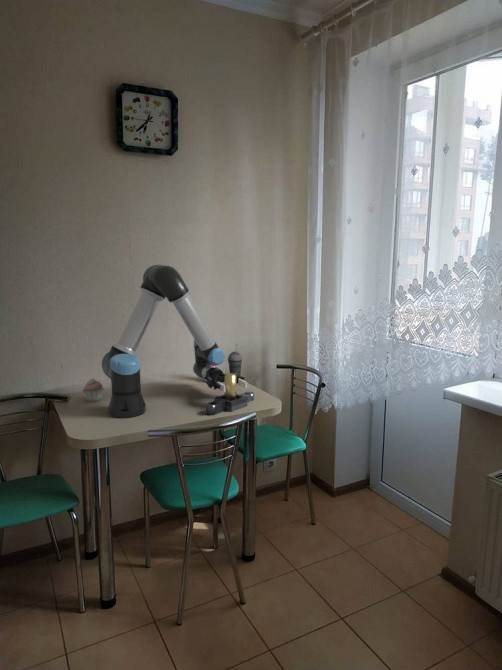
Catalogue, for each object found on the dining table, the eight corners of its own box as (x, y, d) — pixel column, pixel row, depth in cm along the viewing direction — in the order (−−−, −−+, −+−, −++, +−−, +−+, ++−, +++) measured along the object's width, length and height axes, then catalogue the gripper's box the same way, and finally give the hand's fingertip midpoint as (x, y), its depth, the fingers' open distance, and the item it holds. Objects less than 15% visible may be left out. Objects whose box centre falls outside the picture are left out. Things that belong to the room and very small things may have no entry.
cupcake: (108, 397, 222) (107, 375, 220) (99, 403, 213) (97, 381, 211) (89, 396, 223) (87, 375, 222) (79, 402, 214) (77, 380, 212)
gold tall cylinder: (231, 408, 206) (230, 376, 203) (222, 406, 209) (222, 374, 206) (239, 406, 209) (238, 374, 207) (230, 403, 213) (230, 372, 210)
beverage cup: (233, 379, 251) (232, 341, 247) (245, 381, 247) (244, 342, 244) (225, 382, 245) (224, 343, 241) (237, 384, 241) (237, 345, 237)
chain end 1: (216, 417, 195) (215, 408, 194) (198, 412, 202) (198, 403, 201) (247, 405, 210) (247, 396, 209) (230, 401, 216) (230, 392, 215)
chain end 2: (231, 411, 202) (231, 404, 202) (214, 406, 208) (214, 399, 208) (261, 400, 216) (261, 394, 216) (244, 396, 223) (244, 389, 222)
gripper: (234, 379, 229) (258, 391, 210) (190, 386, 218) (211, 399, 199) (234, 363, 227) (258, 374, 208) (190, 369, 217) (211, 381, 197)
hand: (235, 387), depth 203 cm, fingers open, 9 cm apart
